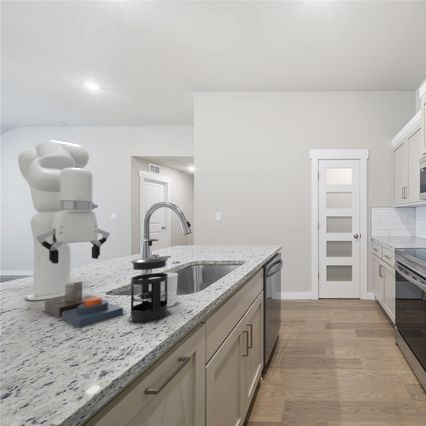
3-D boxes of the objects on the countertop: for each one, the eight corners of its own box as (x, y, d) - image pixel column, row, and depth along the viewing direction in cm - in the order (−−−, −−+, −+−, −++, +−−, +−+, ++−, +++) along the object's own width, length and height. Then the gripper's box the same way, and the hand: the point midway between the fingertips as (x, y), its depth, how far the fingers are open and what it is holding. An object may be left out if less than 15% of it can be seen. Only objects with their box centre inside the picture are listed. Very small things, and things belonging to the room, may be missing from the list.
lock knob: (67, 302, 78) (67, 285, 79) (62, 300, 80) (63, 283, 80) (84, 298, 82) (84, 282, 82) (79, 296, 84) (79, 280, 84)
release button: (82, 305, 74) (82, 299, 74) (98, 302, 77) (98, 296, 77) (88, 307, 72) (88, 301, 72) (103, 304, 75) (103, 298, 75)
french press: (125, 316, 75) (126, 239, 75) (161, 308, 82) (161, 237, 82) (136, 328, 67) (137, 241, 67) (175, 317, 74) (175, 239, 74)
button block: (61, 319, 73) (62, 305, 73) (104, 308, 82) (104, 295, 82) (79, 328, 67) (79, 313, 67) (123, 315, 76) (123, 301, 76)
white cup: (157, 311, 79) (157, 279, 79) (145, 306, 83) (145, 276, 84) (182, 303, 86) (182, 274, 86) (170, 299, 90) (170, 271, 90)
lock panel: (44, 310, 80) (44, 300, 80) (85, 301, 88) (85, 292, 88) (59, 318, 74) (59, 307, 74) (101, 307, 83) (101, 297, 83)
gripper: (104, 208, 90) (103, 256, 90) (32, 206, 75) (32, 264, 75) (114, 207, 87) (114, 257, 86) (41, 206, 72) (40, 266, 71)
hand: (76, 260), depth 81 cm, fingers open, 9 cm apart
